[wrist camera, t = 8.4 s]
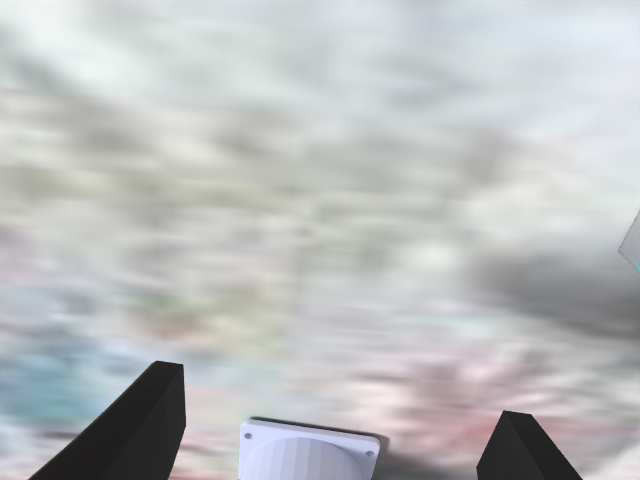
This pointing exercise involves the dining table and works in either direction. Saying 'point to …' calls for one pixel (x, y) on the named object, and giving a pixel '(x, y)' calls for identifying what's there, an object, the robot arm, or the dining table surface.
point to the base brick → (632, 244)
